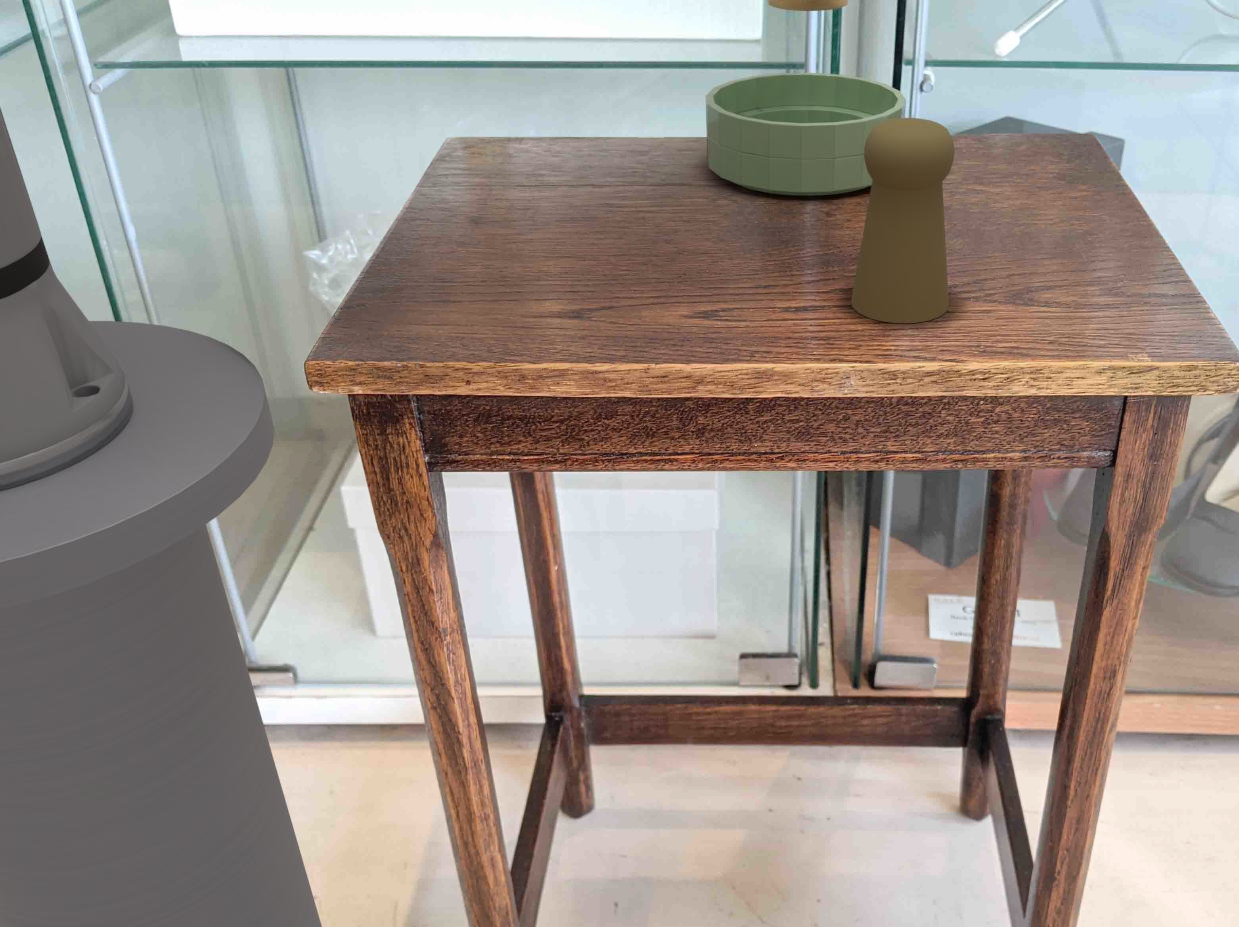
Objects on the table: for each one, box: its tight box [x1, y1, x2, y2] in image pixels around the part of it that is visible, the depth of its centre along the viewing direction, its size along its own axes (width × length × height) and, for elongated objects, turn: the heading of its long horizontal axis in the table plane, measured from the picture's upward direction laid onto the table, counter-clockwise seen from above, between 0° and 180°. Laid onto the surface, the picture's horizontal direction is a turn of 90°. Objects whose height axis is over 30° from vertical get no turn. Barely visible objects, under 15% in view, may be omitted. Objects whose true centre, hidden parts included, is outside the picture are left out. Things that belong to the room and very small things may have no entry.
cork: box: [850, 117, 956, 324], centre depth 77 cm, size 6×6×11 cm
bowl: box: [705, 72, 907, 197], centre depth 101 cm, size 15×15×6 cm
